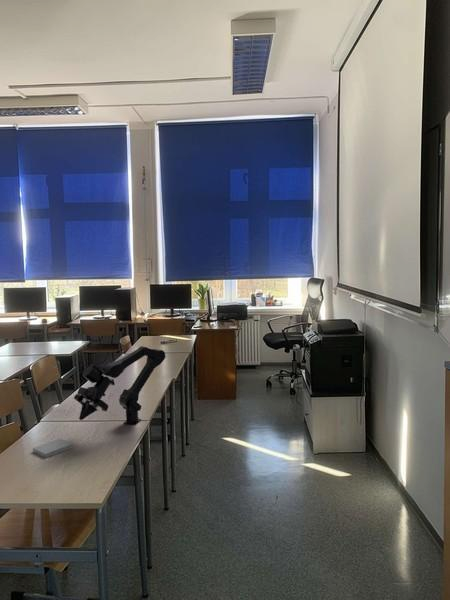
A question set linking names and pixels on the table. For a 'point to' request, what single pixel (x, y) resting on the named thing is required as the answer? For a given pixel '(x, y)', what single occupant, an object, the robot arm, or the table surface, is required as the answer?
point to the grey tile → (52, 448)
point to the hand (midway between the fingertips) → (80, 419)
